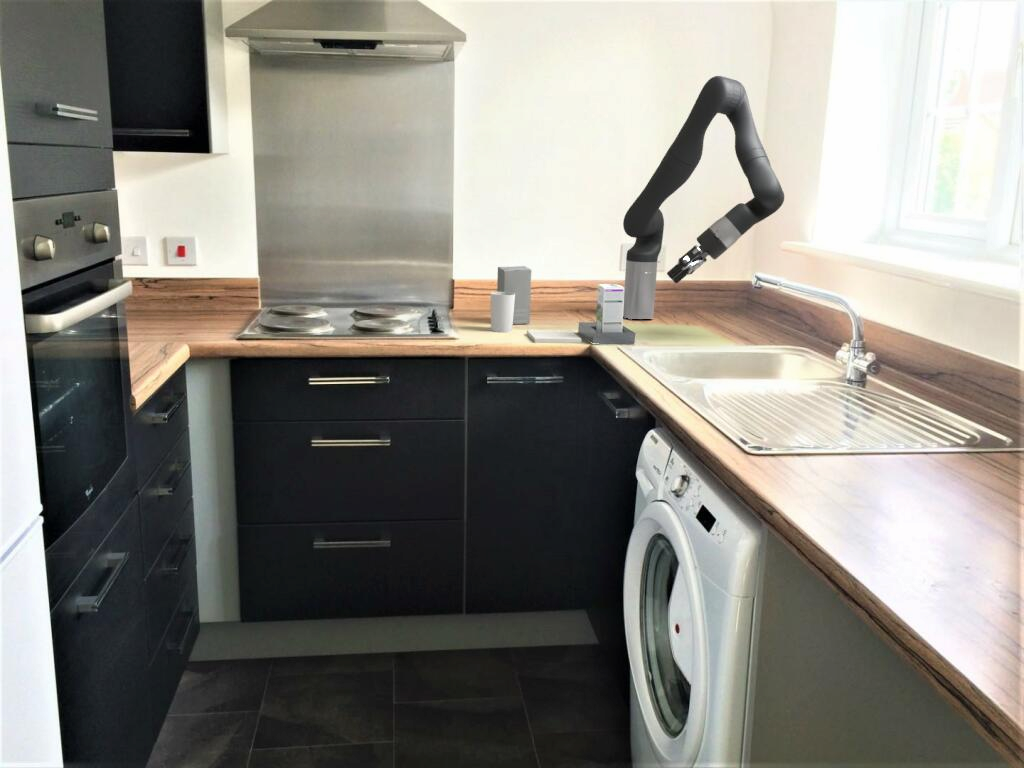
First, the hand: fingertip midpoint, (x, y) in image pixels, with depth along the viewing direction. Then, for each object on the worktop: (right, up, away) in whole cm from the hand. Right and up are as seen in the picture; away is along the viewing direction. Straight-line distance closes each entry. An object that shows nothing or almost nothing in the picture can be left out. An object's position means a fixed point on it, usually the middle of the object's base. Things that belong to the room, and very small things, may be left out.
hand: (671, 278), depth 248 cm
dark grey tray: (-18, -16, -3) cm, 24 cm away
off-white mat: (-31, -16, -5) cm, 36 cm away
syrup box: (-17, -17, -5) cm, 25 cm away
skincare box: (-42, -11, +16) cm, 46 cm away
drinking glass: (-45, -14, +4) cm, 47 cm away
